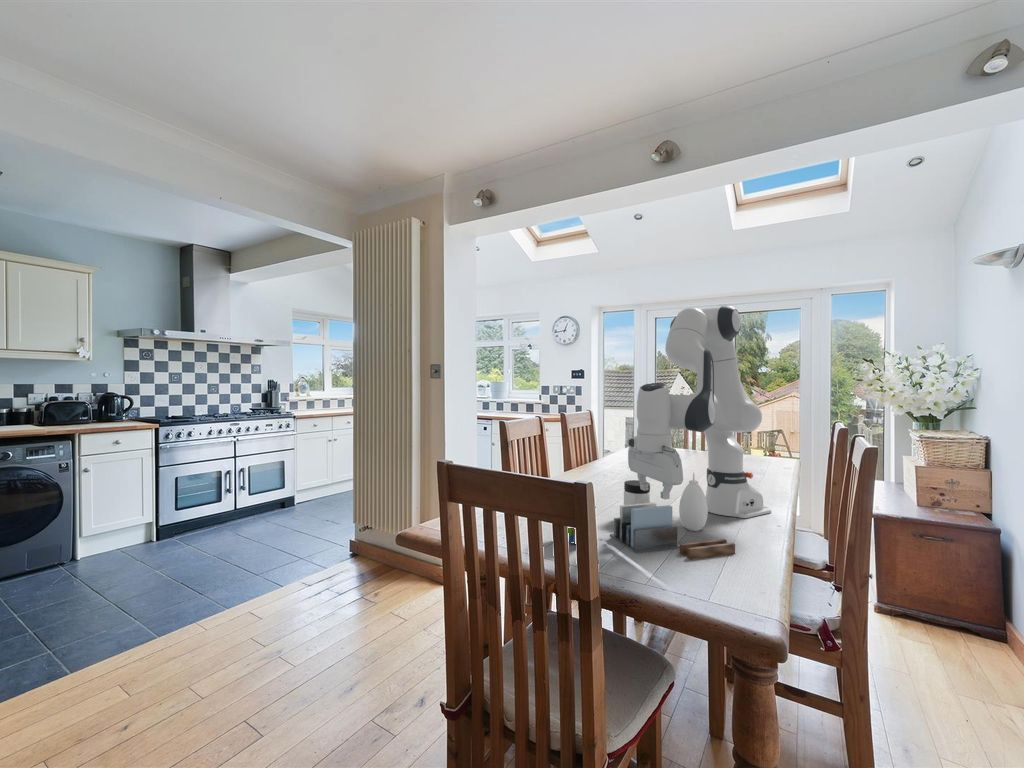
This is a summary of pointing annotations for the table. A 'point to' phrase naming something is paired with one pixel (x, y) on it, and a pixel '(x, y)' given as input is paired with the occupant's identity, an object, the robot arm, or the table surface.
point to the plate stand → (707, 549)
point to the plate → (650, 518)
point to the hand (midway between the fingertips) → (654, 494)
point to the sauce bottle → (693, 507)
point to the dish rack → (643, 533)
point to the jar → (635, 493)
